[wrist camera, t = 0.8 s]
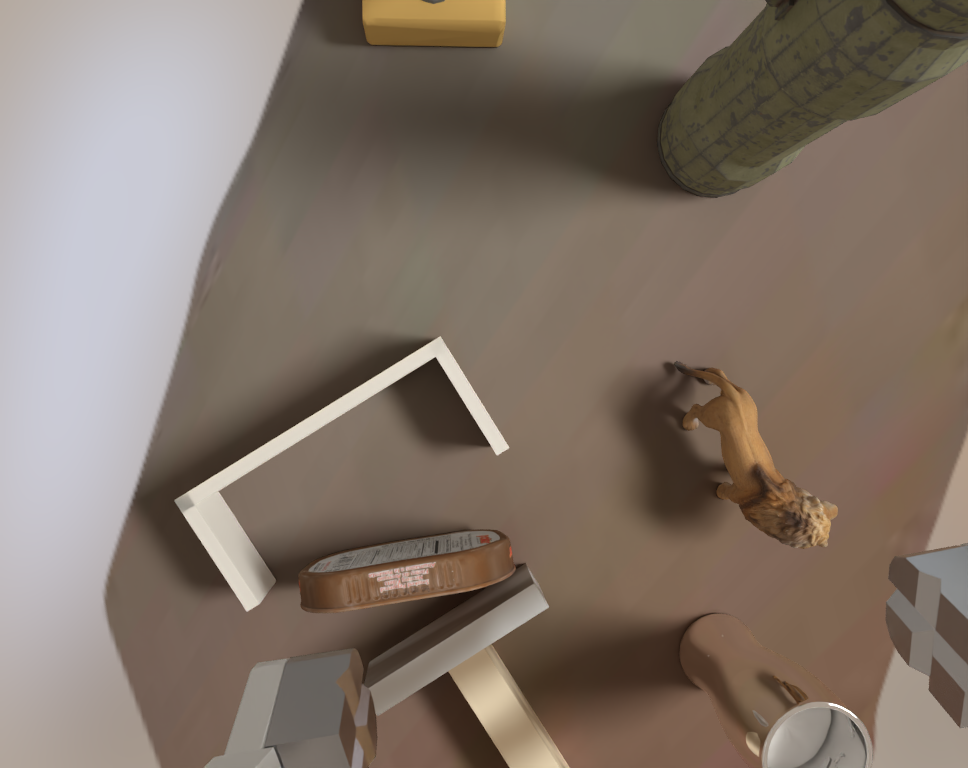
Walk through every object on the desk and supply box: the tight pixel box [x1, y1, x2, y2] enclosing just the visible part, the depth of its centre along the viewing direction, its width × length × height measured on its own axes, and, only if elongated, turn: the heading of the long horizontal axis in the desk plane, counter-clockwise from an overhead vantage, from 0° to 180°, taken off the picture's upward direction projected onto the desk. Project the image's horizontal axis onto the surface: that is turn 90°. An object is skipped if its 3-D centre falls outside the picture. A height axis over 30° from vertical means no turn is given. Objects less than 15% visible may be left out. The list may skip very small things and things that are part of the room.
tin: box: [298, 530, 516, 613], centre depth 50 cm, size 15×3×8 cm, turn 98°
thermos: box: [657, 0, 968, 198], centre depth 37 cm, size 9×12×35 cm
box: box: [174, 337, 509, 611], centre depth 51 cm, size 9×21×5 cm, turn 122°
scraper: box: [364, 563, 570, 768], centre depth 52 cm, size 16×14×5 cm
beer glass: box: [679, 613, 873, 768], centre depth 48 cm, size 7×7×15 cm
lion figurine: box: [674, 361, 838, 549], centre depth 51 cm, size 15×5×9 cm, turn 33°
